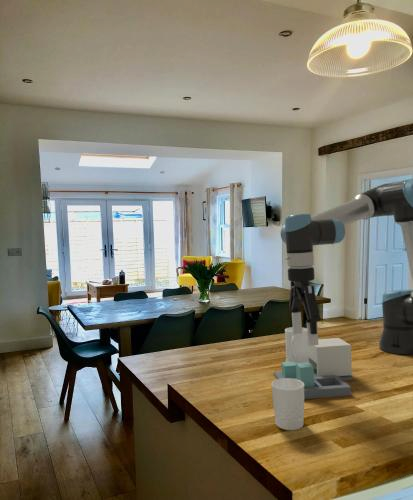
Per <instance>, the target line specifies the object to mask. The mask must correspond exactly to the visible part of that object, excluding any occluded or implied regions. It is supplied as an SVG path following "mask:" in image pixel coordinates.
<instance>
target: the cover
mask: <svg viewBox="0 0 413 500" xmlns="http://www.w3.org/2000/svg"><path fill="white" fill-rule="evenodd" d="M307 351H308V362H309V363H310V364H311V365H312V366H313V367H314V369H317V376H330V375H337V376H347V375H352V376H353V369H352V368H353V367H352V366H353V364H352V361H353V360H352V345H351V344H350V343H348V342H347V341H345V340H343V339H341V338H340V337H334V338H333V337H331V338H320V339H318V345H313V346H308V340H307Z"/></svg>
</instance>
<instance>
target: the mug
mask: <svg viewBox="0 0 413 500" xmlns="http://www.w3.org/2000/svg"><path fill="white" fill-rule="evenodd" d="M284 335H285V336H284V337H285V339H284V340H285V362H294V363H295V364H296V363H308V351H307V340H308V336H307V327H302V333H299V334H293V326H292V327H286V328H285V329H284Z"/></svg>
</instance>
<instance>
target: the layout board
mask: <svg viewBox="0 0 413 500" xmlns="http://www.w3.org/2000/svg"><path fill="white" fill-rule="evenodd" d="M280 364H281V365H280V366H281V367H280V368H281V371H273V376H274V378H275V380H277V379H282V378H296V364H295V363H294V362H286V361H281V363H280ZM314 377H317V369H314ZM338 377H339V378H340V379H342V380H343V381H344V382H346V381H354V378H355V377H354V376H353V374H352V375H347V376H338Z"/></svg>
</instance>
